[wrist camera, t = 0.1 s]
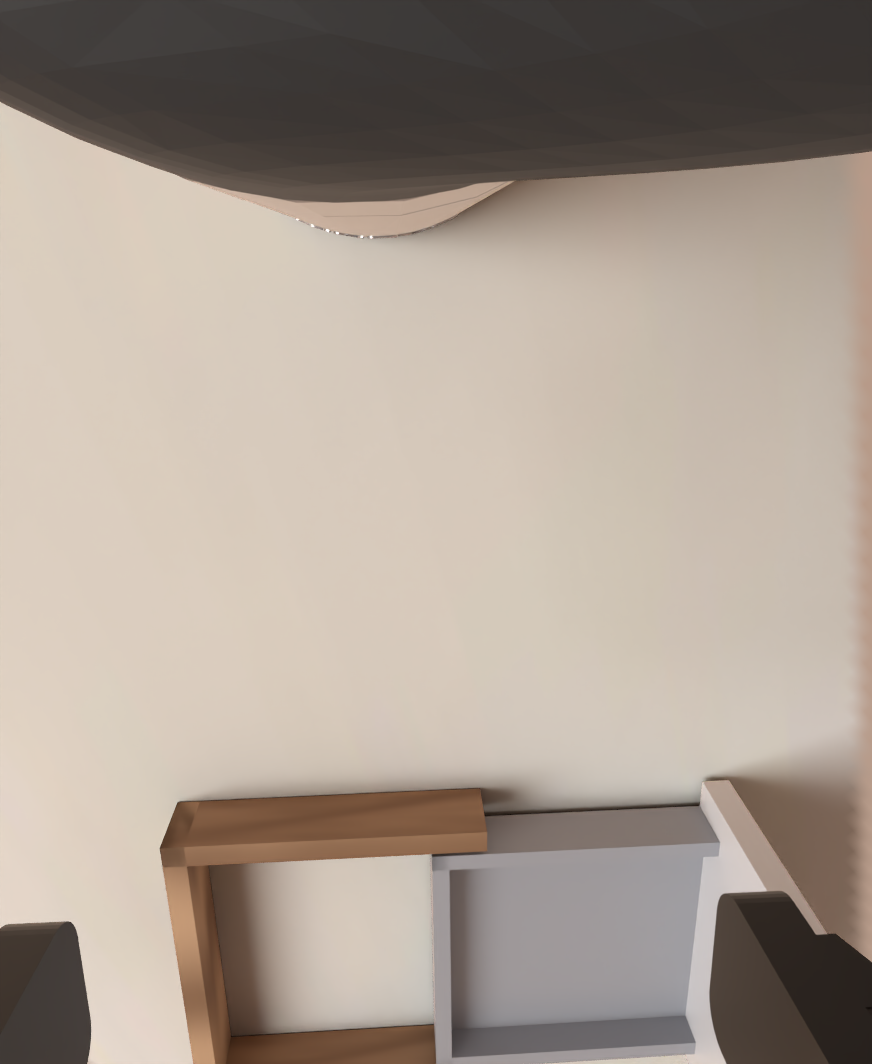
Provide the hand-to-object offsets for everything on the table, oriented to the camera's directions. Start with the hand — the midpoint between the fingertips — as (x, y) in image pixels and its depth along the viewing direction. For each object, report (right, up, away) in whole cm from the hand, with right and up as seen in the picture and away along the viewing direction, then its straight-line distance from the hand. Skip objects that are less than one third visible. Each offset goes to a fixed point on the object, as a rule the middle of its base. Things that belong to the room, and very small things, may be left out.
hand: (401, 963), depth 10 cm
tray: (+5, -10, +22) cm, 25 cm away
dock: (-3, -10, +22) cm, 24 cm away
